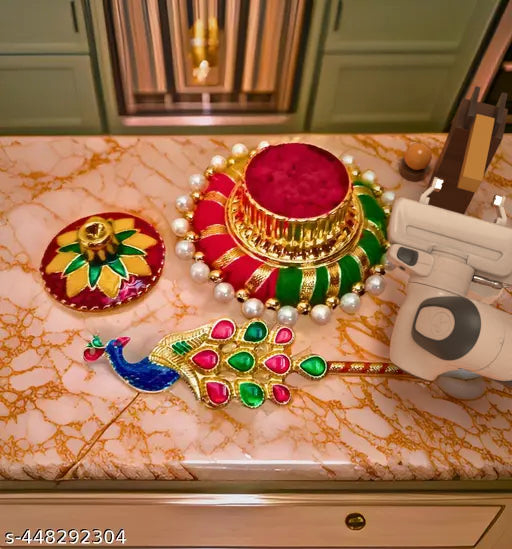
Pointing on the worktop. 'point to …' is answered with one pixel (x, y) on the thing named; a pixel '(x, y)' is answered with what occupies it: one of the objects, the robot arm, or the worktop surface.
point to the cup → (483, 293)
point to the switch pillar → (456, 148)
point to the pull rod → (476, 153)
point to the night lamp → (416, 162)
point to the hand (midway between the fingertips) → (469, 187)
